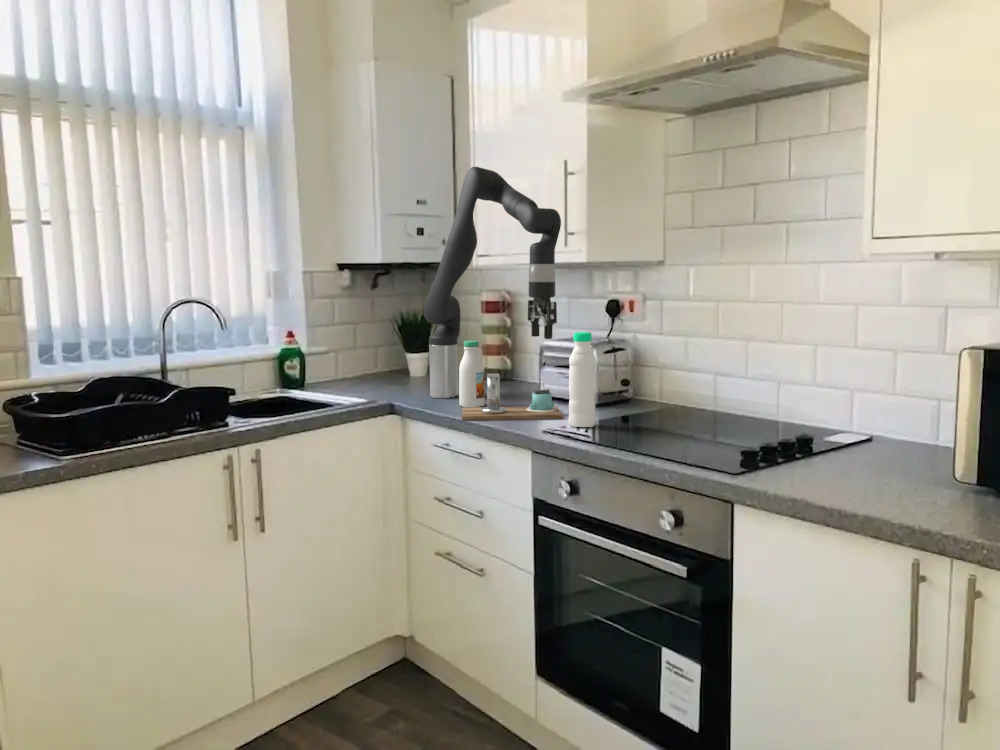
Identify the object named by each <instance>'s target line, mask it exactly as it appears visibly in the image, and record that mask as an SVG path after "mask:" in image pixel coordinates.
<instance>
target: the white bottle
mask: <svg viewBox="0 0 1000 750" xmlns="http://www.w3.org/2000/svg"><path fill="white" fill-rule="evenodd" d="M572 338H573V341H574V342H573V343H574V345H575V346H574V347H573V349H572V353H571V354H570V356H569V359H568V364H569V369H568V370H569V371H568V393H569V395H568V396H569V401H568V410H569V411H568V425H569V426H570V427H571V426H572V427H571V428H575V427H590V428H593V427H594V426H595V425H596V412H595V411H596V400H595V399H596V383H597V382H596V380H597V379H596V362H597V361H596V356H595V355H594V352H593V349H592V347H591V343H592V339H593V337H592V333H590V332H585V331H584V332H583V331H582V332H581V331H580V332H575V333H573V337H572Z"/></svg>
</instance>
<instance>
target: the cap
mask: <svg viewBox="0 0 1000 750" xmlns="http://www.w3.org/2000/svg"><path fill="white" fill-rule="evenodd" d="M531 399H532V400H531V404H529V406H530V409H534V410H550V409H552V408H553V407H554V406H555V403H554V402H552V392H551V390H550V389H535V390H533V392H532V394H531Z"/></svg>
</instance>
